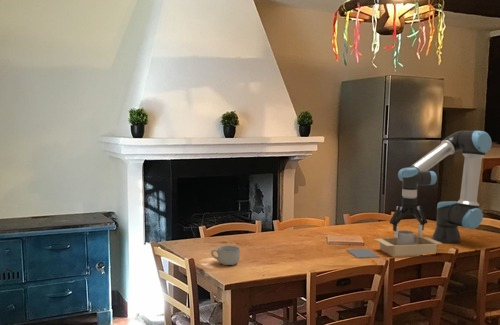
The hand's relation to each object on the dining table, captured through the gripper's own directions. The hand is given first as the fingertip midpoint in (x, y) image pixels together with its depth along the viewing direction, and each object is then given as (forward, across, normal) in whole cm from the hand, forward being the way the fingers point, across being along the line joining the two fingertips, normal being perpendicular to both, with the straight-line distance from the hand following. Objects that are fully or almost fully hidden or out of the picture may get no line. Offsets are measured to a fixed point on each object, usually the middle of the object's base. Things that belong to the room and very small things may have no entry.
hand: (408, 237), depth 251 cm
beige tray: (+8, 0, 0) cm, 8 cm away
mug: (+8, 0, 0) cm, 8 cm away
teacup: (+8, +98, +8) cm, 99 cm away
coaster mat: (+8, +25, 0) cm, 26 cm away
